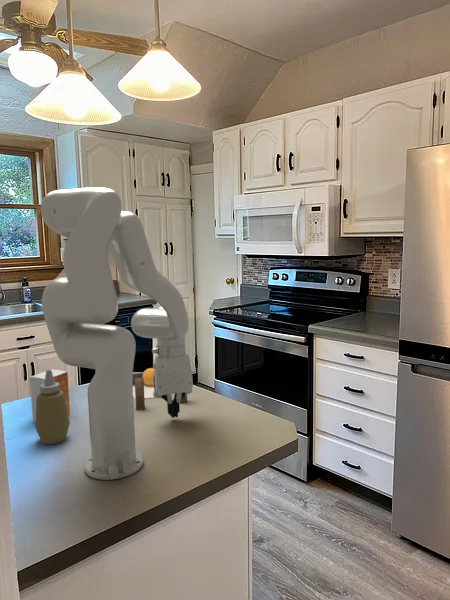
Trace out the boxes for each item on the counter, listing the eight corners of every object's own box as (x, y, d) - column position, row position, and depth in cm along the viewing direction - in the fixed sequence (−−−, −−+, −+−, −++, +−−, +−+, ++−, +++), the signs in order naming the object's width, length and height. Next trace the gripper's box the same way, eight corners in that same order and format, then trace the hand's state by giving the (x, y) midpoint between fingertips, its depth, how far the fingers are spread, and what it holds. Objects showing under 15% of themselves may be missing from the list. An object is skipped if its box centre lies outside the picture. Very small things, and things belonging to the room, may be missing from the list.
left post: (145, 409, 135) (144, 379, 134) (136, 410, 134) (135, 380, 133) (143, 406, 138) (142, 377, 136) (135, 407, 137) (133, 378, 135)
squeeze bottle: (43, 450, 110) (37, 377, 108) (31, 439, 116) (26, 370, 114) (75, 440, 116) (71, 370, 113) (63, 430, 122) (58, 364, 119)
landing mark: (175, 394, 148) (175, 393, 148) (135, 400, 143) (135, 399, 143) (165, 382, 160) (165, 382, 160) (127, 387, 155) (127, 387, 155)
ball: (160, 387, 159) (162, 379, 154) (143, 390, 156) (145, 382, 152) (157, 371, 162) (159, 363, 157) (140, 374, 160) (141, 366, 155)
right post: (188, 402, 140) (187, 374, 139) (180, 404, 139) (179, 375, 138) (185, 399, 143) (184, 371, 141) (177, 401, 142) (176, 372, 140)
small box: (49, 425, 125) (46, 379, 123) (32, 422, 127) (28, 376, 126) (70, 415, 132) (68, 371, 130) (54, 411, 135) (51, 368, 133)
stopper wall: (159, 381, 162) (159, 371, 161) (130, 385, 158) (130, 375, 157) (158, 379, 163) (158, 370, 163) (130, 383, 159) (129, 373, 159)
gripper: (147, 357, 118) (149, 425, 120) (202, 350, 123) (204, 416, 126) (141, 350, 124) (143, 415, 127) (193, 344, 130) (195, 407, 132)
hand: (173, 415), depth 126 cm, fingers closed
